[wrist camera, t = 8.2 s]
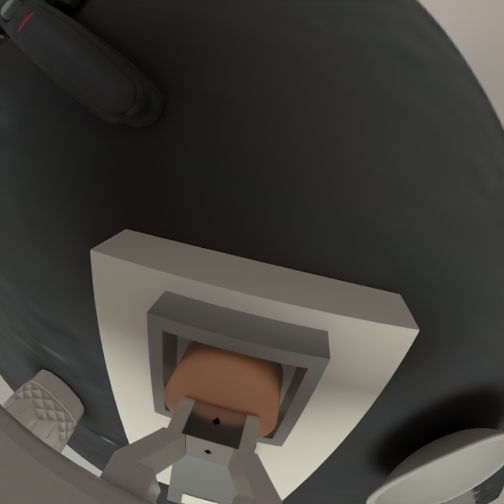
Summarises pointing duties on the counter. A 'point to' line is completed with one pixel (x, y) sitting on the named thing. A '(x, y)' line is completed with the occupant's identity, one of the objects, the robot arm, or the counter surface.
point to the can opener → (80, 62)
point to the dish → (443, 468)
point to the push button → (228, 383)
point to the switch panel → (246, 340)
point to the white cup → (46, 408)
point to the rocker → (200, 482)
